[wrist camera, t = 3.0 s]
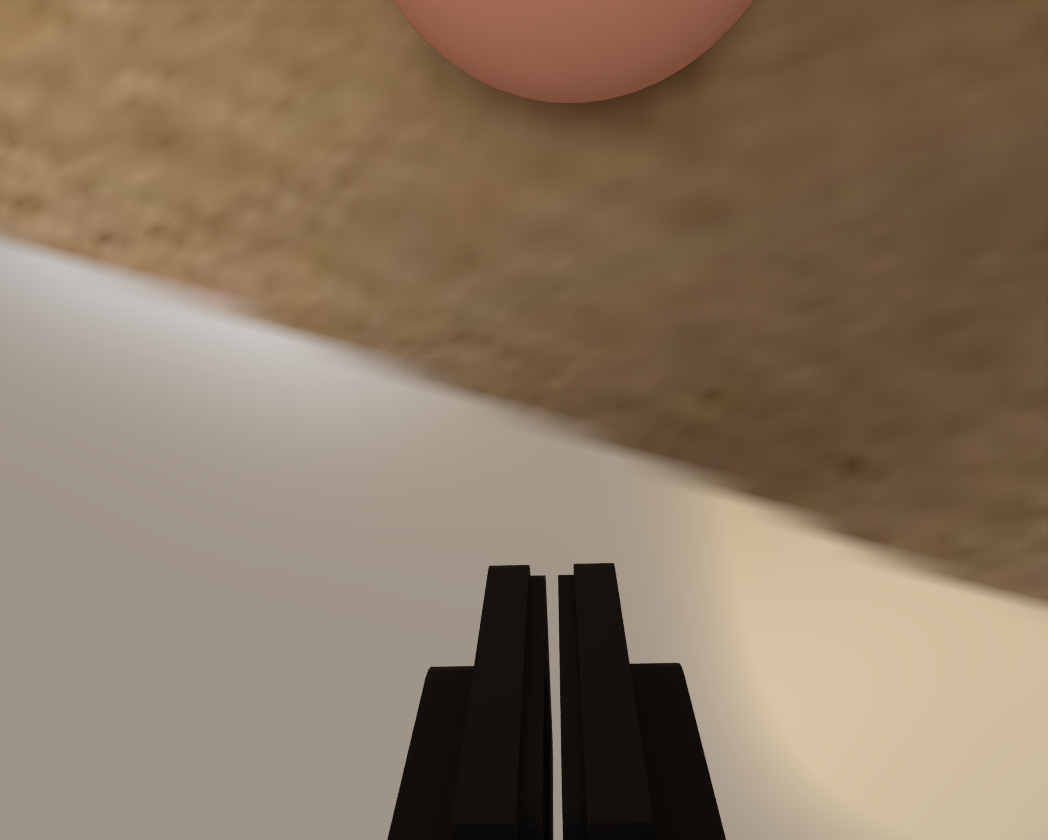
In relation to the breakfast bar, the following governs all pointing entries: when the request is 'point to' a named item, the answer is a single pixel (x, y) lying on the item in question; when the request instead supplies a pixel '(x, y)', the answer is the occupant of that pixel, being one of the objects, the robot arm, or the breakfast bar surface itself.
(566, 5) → the pink smooth round ball
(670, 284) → the breakfast bar surface
